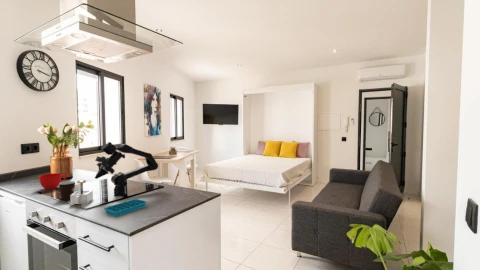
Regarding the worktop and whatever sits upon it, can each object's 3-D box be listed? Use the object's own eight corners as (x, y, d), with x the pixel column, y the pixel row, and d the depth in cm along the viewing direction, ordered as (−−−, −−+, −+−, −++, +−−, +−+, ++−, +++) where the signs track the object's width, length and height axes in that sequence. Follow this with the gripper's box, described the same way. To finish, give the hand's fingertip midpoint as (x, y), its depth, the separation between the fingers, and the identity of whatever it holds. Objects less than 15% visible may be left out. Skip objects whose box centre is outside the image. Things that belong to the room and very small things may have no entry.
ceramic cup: (70, 186, 186) (70, 173, 185) (43, 191, 171) (43, 177, 171) (63, 184, 193) (62, 171, 192) (36, 189, 178) (36, 175, 178)
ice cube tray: (148, 206, 142) (148, 201, 142) (115, 218, 125) (114, 212, 125) (136, 203, 148) (136, 198, 148) (102, 213, 131) (102, 208, 131)
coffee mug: (67, 200, 152) (66, 184, 152) (55, 199, 154) (55, 184, 154) (82, 195, 164) (82, 180, 163) (71, 194, 165) (71, 179, 165)
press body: (92, 199, 154) (92, 190, 154) (85, 205, 143) (85, 195, 143) (77, 200, 152) (76, 191, 152) (68, 206, 141) (68, 196, 141)
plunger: (89, 192, 153) (89, 179, 152) (85, 195, 146) (85, 181, 146) (78, 192, 151) (77, 179, 151) (73, 196, 145) (73, 182, 144)
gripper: (99, 150, 163) (80, 168, 156) (108, 152, 150) (88, 173, 143) (112, 160, 169) (95, 178, 162) (122, 163, 156) (103, 183, 149)
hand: (95, 178), depth 154 cm, fingers closed
